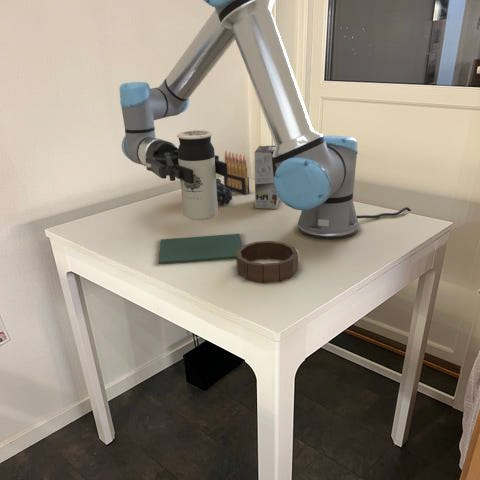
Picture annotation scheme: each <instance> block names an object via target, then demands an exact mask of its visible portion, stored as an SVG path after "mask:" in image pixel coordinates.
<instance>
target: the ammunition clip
mask: <svg viewBox="0 0 480 480" xmlns="http://www.w3.org/2000/svg"><path fill="white" fill-rule="evenodd" d="M224 163H227V176H223V184H224V186H225V187H226V188H229V189H230V191H231V192H234V193H235V192H236V193H238V194H242V195H248V194H250V192H251V191H250V179H249V175H248V174H249V173H248V165H247V157H246V155H245V154H243V155H242V154H241V153H240V154H238V153H237V152H236V153H234V152H232V153H231V151H229V152H228V151H227V150H225V152H224Z"/></svg>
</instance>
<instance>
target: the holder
mask: <svg viewBox="0 0 480 480" xmlns="http://www.w3.org/2000/svg"><path fill="white" fill-rule="evenodd" d="M242 245H243V244H242ZM269 259H271V260H278V262H267V263H266V262H265V263H261V262H257V260H269ZM298 259H299V253H298V250H297V249H296V247H295V246H294V245H292V244H289V243H286V242H283V241H274V240H261V241H259V240H258V241H253V242H249V243H246V244H244V245H243V246H242V247H241V248H239V249H238V250H237V251H236V258H235V260H236V261H235V262H236V271H237V275H238V276H240V277H241V278H243V279H245V280H247V281H249V282H254V283H255V282H256V283H262V284H267V283H268V284H269V283H278V282H282V281H285V280H289V279H291V278H292V277H294V275H295V274H296V273H297V271H298V264H299V262H298ZM255 261H256V262H255Z"/></svg>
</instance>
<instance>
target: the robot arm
mask: <svg viewBox="0 0 480 480" xmlns="http://www.w3.org/2000/svg"><path fill="white" fill-rule="evenodd" d="M203 1H204V2H205V3H206V4H207V5H209V6H210V7H212V8H214V10H213V12H212V13H211V15H210V16H209V17H208V19H207V20H206V21H205V23H204V24H203V26H202V27H201V29H200V30H199V31H198V32H197V34H196V35H195V37H194V38H193V40H192V41H191V43H190V44H189V45H188V47H187V48H186V49H185V51H184V52H183V53H182V55H181V56H180V58H179V59H178V61H177V62H176V63H175V65H174V66H173V67H172V69H171V70H170V71H169V73H168V74H167V76H166V77H165V79H164V80H163V81H162V83H161V84H160V85H159V86H158V87H157V86H156V87H151V86H150V83H148V82H145V81H132V82H124V83H121V84H120V86H119V97H120V98H119V104H120V106H121V112H122V113H121V114H122V120H123V125H124V126H123V127H124V134H125V135H124V136H123V138H122V141H121V150H122V153H123V155H124V156H125V158H127V159H129V160H130V161H131V162H133V163H135V164H138V165H141V166H143V167H145V168H146V171H149V172H151V173H153V174H154V175H156V176H157V177H159V178H160V179H163V180H164V179H167V177H169V181H170V182H175V181H176V179H178V180H183V181H185V182H188V183H190V184H193V183H194V175H193V170H191V169H188V168H186V167H182V166H180V165H179V162H178V152H177V150H178V148H179V147H177V146H176V145H175V144H174V143H173V142H171V141H168V140H164V139H162V138H158V137H156V131H155V130H156V129H155V121H157V120H161V119H165V118H169V117H176V116H178V115H181V114H182V113H184V112H185V111H186V110H187V109H188V107H189V105H190V98H191V96H192V95H193V94H194V92H195V91H196V90H197V88H198V87H199V86H200V85H201V84H202V83H203V81H204V80H205V78H206V77H207V76H208V75H209V73H210V72H211V71H212V70H213V68H214V67H215V66H216V65H217V64H218V63H219V61H221V59H222V58H223V56H224V55H225V54H226V52H227V51H228V50H229V49H230V48H231V46H232V45H233V44H234V42H236V45H237V47H238V50H239V54H240V56H241V59H242V61H243V64H244V66H245V69H246V72H247V75H248V77H249V80H250V82H251V85H252V87H253V90H254V93H255V95H256V98H257V100H258V104H259V107H260V108H261V111H262V114H263V117H264V119H265V122H266V124H267V127H268V129H269V133H270V136H271V138H272V140H273V143H274V146H275V150H274V153H273V155H272V157H273V160H274V163H275V166H276V168H277V170H276V173H275V177H274V187H275V191H276V193H277V195H278V197H279V198H280V200H279V201H280V202H282V203H283V204H284V205H286V206H287V207H288V208H291V209H293V210H296V211H301V212H300V214H299V218H298V221H297V231H298V233H300V234H302V235H303V236H305V237H308V238H311V239H317V240H325V241H326V240H327V241H330V240H333V241H334V240H341V239H346V238H347V239H348V238H350V237H353V236H354V235H355V234H357V232H358V230H359V221H358V219H378V218H380V217H393V216H394V217H395V216H399V215H400V214H402V213H403V212H404V211H407V212H412V209H410V207H408V206H405V207H403V208H402V209H400V210H399V211H397V212H382V213H378V214H376V215H375V214H373V215H371V214H370V215H366V214H364V215H363V214H362V215H360V214H359V215H357V212H356V208H355V203H354V191H355V181H356V180H355V179H356V168H357V158H358V157H357V155H358V154H359V153H358V152H359V151H358V141H357V139H356V138H354V137H352V136H347V135H328V134H327V135H326V134H325V135H323V133H321V132H319V131H317V130H314V128H313V126H312V123H311V120H310V117H309V114H308V112H307V108H306V105H305V103H304V100H303V97H302V94H301V91H300V89H299V86H298V83H297V80H296V77H295V75H294V72H293V68H292V66H291V63H290V60H289V57H288V55H287V52H286V49H285V46H284V43H283V41H282V37H281V34H280V32H279V29H278V27H277V23H276V21H275V20H276V19H275V18H274V15H273V11H272V10H273V6H274V5H275V1H276V0H203ZM215 170H216V175H218V176H219V175H220V176H222V177H224V176H227V163H225V161H221V160H220V155H216V154H215Z"/></svg>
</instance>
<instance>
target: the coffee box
mask: <svg viewBox="0 0 480 480" xmlns="http://www.w3.org/2000/svg"><path fill="white" fill-rule="evenodd" d="M274 150H275V145H259V146H258V147H257V149H256V150H255V151H254V201H255V202H254V208H255V209H269V210H270V209H271V210H276V209H277V207H278V205H279V203H280V201H281V200H280V198H279V197H278V195H277V193H276V191H275V187H274V177H275V173H276V170H277V168H276V166H275V163H274V160H273V157H272V155H273V153H274Z"/></svg>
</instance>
